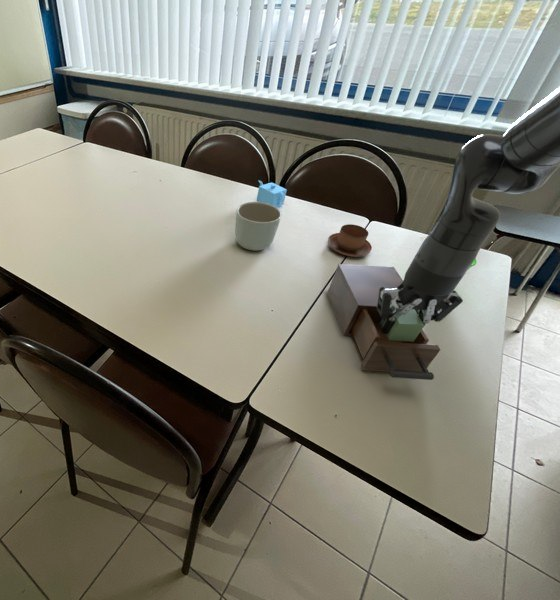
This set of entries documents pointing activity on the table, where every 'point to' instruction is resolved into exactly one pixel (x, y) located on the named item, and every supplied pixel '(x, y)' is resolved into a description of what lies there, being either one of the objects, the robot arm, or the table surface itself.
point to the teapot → (271, 194)
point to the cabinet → (359, 291)
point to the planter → (256, 225)
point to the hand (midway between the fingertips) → (397, 331)
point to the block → (406, 327)
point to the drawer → (392, 349)
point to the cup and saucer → (350, 241)
